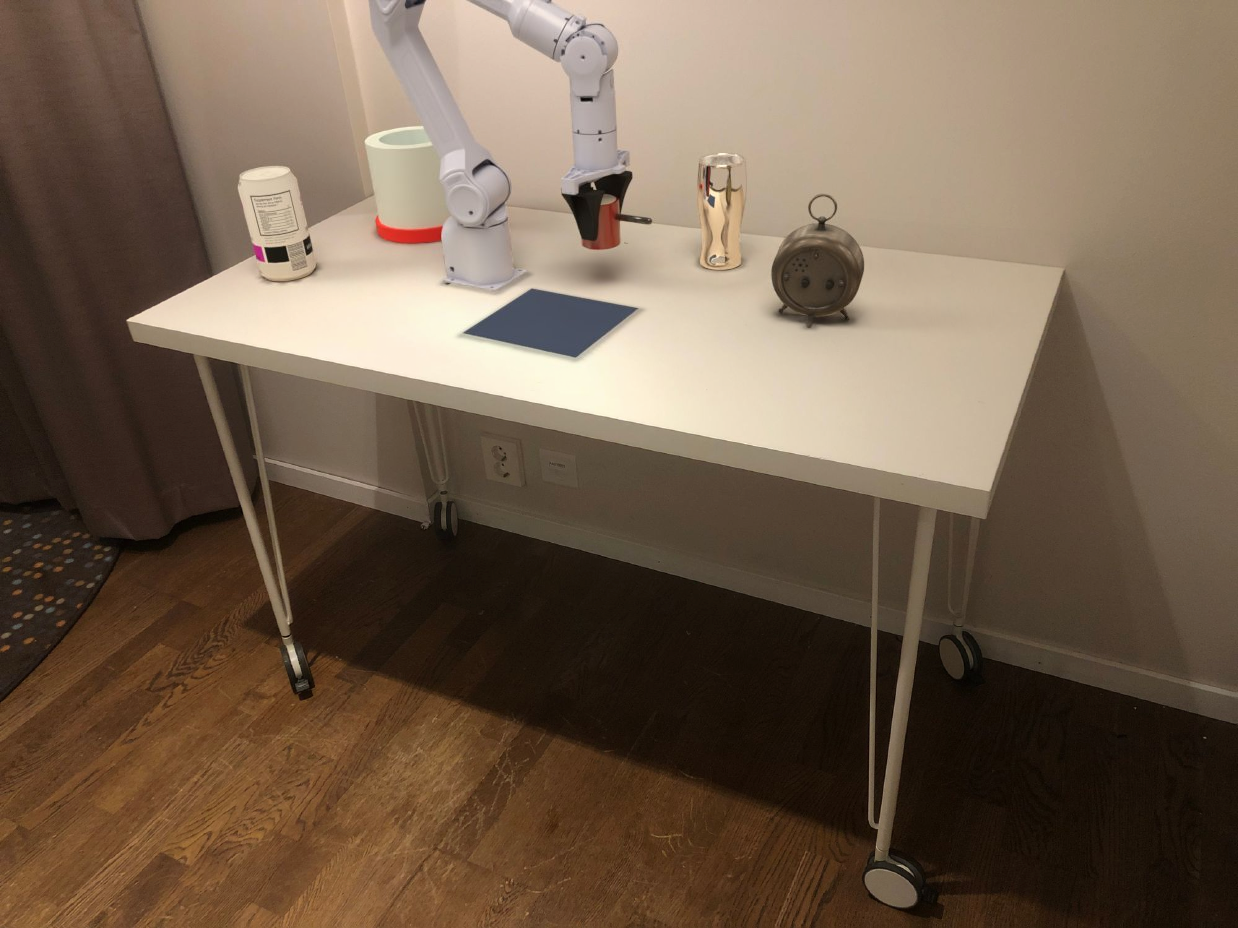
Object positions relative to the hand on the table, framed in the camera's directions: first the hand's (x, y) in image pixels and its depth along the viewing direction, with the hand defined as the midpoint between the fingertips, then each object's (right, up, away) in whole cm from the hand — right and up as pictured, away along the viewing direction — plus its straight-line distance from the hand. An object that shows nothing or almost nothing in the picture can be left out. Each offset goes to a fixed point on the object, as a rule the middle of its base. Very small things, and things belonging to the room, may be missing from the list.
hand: (600, 232), depth 127 cm
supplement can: (-47, -3, +14) cm, 49 cm away
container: (-30, +8, +29) cm, 43 cm away
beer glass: (+18, -2, +10) cm, 20 cm away
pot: (+2, -2, 0) cm, 3 cm away
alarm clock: (+27, -13, -8) cm, 32 cm away
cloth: (-6, -13, -5) cm, 15 cm away
